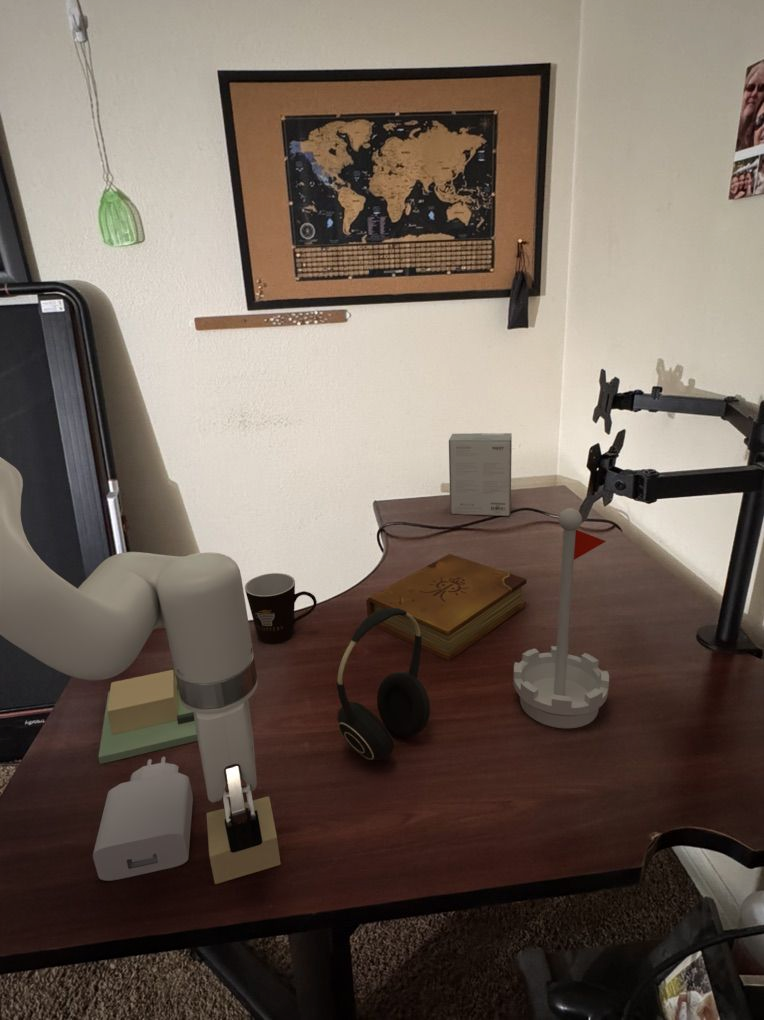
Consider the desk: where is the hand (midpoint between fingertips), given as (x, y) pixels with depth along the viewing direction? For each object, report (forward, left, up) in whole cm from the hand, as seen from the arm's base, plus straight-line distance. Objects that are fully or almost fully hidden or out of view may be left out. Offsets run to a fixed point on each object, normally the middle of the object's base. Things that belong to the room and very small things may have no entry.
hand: (241, 810), depth 68 cm
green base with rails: (-7, +28, -6) cm, 30 cm away
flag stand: (+46, +10, -6) cm, 47 cm away
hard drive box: (+70, +85, -6) cm, 110 cm away
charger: (-10, +9, -6) cm, 15 cm away
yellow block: (0, 0, -6) cm, 6 cm away
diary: (+41, +39, -6) cm, 57 cm away
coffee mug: (+11, +43, -6) cm, 45 cm away
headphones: (+20, +11, -6) cm, 23 cm away
